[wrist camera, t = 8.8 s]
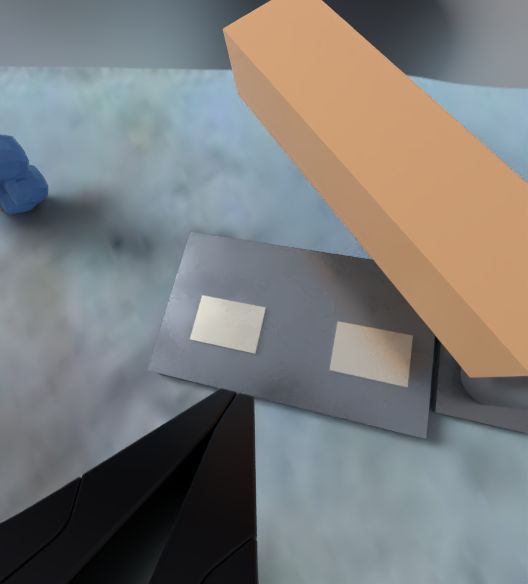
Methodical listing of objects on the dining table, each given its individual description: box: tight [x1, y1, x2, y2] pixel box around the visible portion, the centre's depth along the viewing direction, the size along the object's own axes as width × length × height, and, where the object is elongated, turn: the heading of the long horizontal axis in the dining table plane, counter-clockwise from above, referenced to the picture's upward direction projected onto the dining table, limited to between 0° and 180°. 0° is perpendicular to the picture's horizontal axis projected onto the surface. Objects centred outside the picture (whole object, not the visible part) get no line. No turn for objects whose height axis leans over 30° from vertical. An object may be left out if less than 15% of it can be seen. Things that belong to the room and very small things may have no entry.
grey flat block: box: [431, 338, 528, 433], centre depth 18 cm, size 5×5×1 cm
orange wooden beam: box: [223, 0, 528, 410], centre depth 16 cm, size 24×5×9 cm, turn 32°
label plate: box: [148, 232, 435, 439], centre depth 20 cm, size 17×10×1 cm, turn 77°
